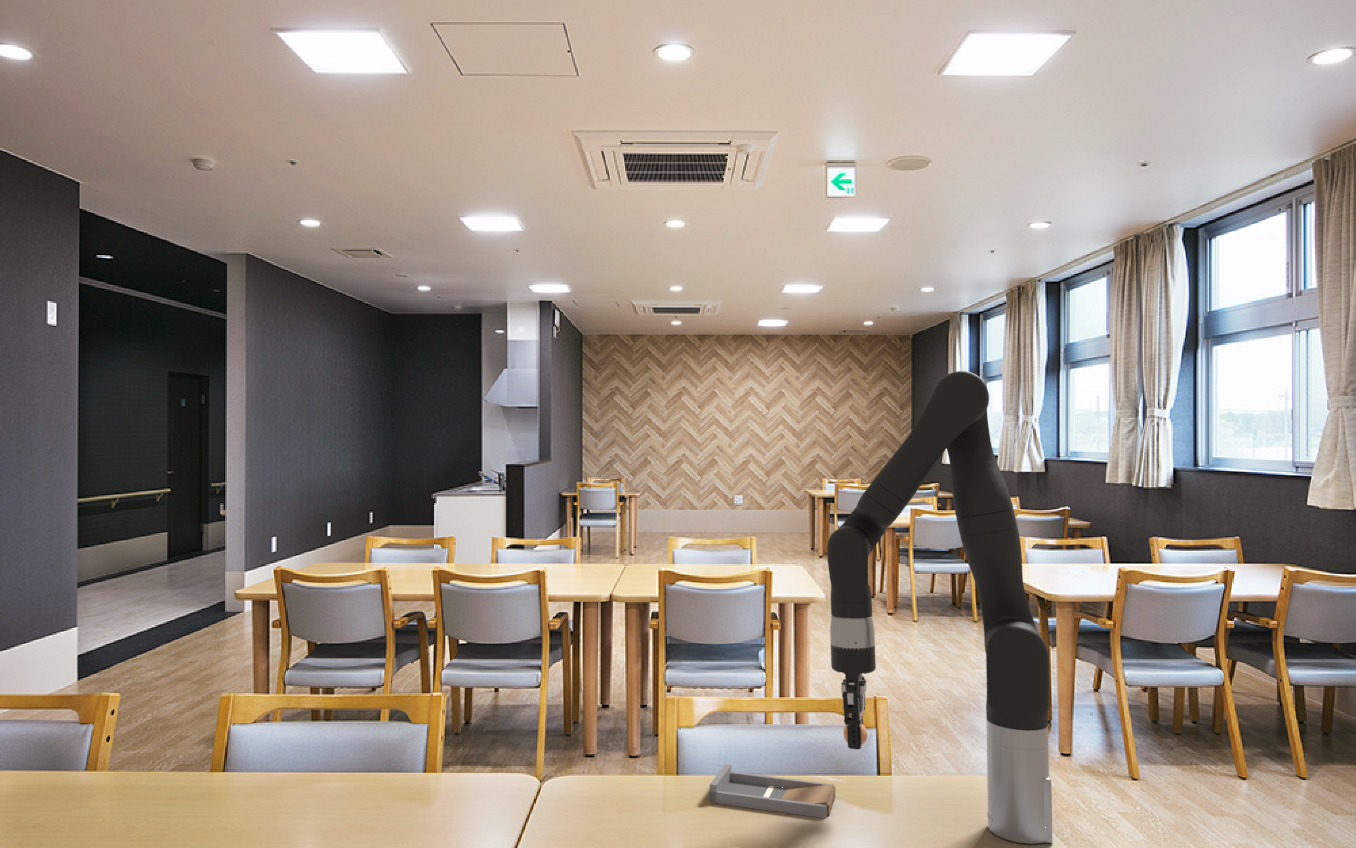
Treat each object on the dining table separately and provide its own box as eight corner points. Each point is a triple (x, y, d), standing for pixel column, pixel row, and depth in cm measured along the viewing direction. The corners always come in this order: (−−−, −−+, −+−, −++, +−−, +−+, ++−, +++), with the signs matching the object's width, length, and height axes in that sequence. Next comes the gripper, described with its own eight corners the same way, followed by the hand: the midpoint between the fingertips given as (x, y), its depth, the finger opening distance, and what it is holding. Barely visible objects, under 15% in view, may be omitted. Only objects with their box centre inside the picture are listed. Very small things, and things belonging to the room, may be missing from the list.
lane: (833, 794, 143) (833, 777, 144) (826, 818, 133) (826, 799, 133) (724, 780, 149) (725, 764, 150) (709, 802, 139) (709, 784, 139)
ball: (868, 743, 139) (867, 719, 139) (866, 750, 135) (866, 726, 135) (845, 741, 140) (844, 718, 140) (842, 748, 136) (841, 724, 137)
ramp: (835, 801, 142) (835, 784, 142) (829, 820, 134) (829, 802, 134) (786, 795, 145) (786, 778, 145) (778, 813, 137) (778, 795, 137)
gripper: (871, 651, 131) (875, 759, 130) (877, 635, 145) (881, 734, 143) (825, 649, 133) (828, 755, 132) (835, 634, 147) (838, 731, 146)
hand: (855, 743), depth 138 cm, fingers closed on ball, 4 cm apart
